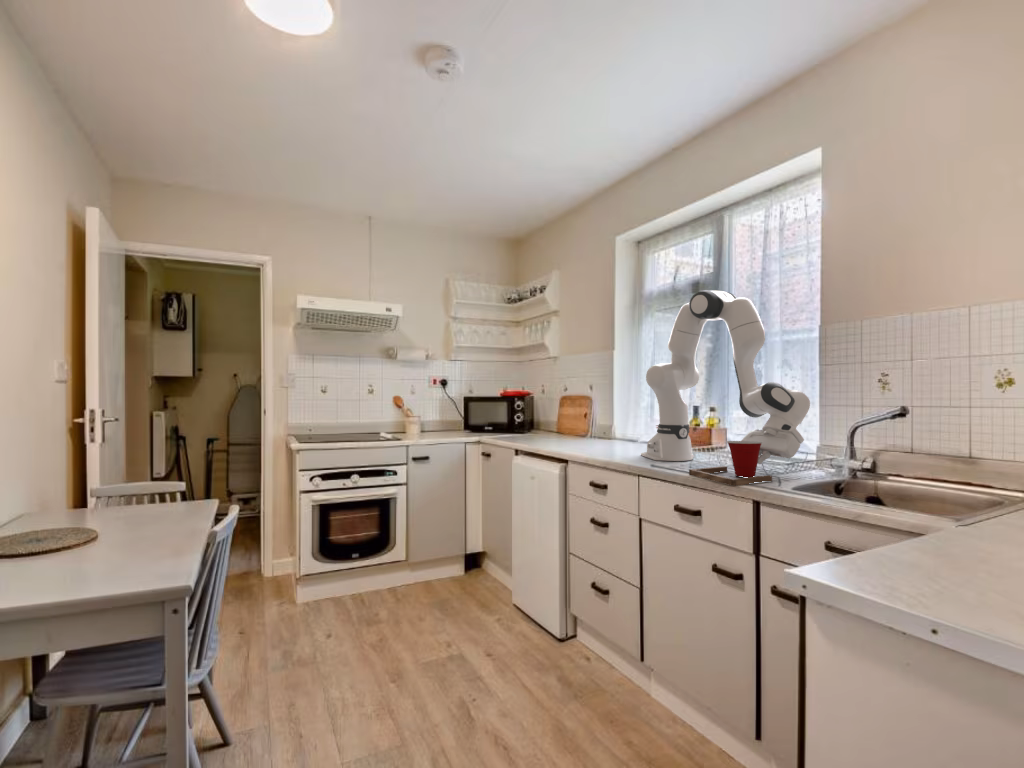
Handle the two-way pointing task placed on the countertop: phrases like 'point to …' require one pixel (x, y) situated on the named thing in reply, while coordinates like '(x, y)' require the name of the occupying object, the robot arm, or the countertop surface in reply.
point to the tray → (733, 482)
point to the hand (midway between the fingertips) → (755, 462)
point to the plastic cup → (745, 457)
